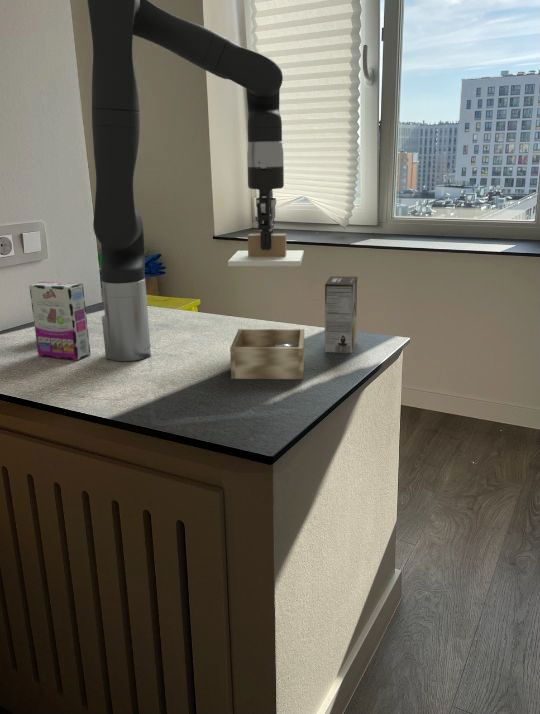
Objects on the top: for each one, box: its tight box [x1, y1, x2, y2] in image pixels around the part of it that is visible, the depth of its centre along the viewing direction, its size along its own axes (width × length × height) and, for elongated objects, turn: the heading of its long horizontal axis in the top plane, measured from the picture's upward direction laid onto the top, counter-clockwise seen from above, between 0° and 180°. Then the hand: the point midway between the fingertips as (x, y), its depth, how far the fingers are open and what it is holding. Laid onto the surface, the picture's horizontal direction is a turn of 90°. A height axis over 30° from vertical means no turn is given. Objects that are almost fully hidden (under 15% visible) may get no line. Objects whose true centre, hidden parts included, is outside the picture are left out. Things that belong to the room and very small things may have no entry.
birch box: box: [229, 328, 305, 380], centre depth 131 cm, size 14×14×7 cm
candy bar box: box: [28, 281, 91, 361], centre depth 142 cm, size 11×5×16 cm, turn 68°
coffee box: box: [324, 275, 358, 354], centre depth 143 cm, size 9×6×16 cm
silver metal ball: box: [275, 342, 294, 347], centre depth 134 cm, size 4×4×4 cm
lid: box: [227, 233, 305, 267], centre depth 139 cm, size 15×15×6 cm
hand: (267, 247), depth 139 cm, fingers closed on lid, 3 cm apart
